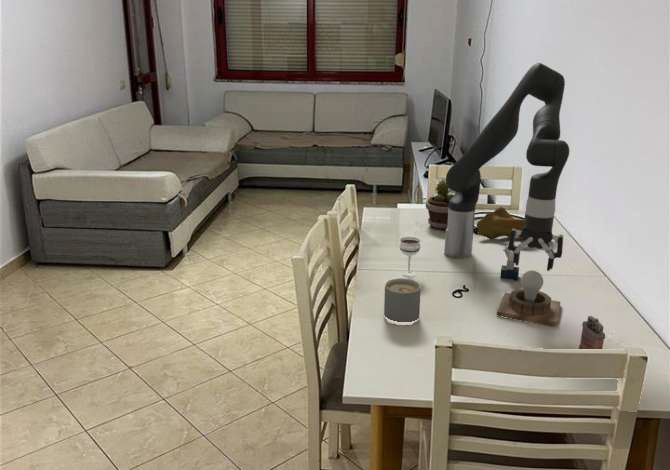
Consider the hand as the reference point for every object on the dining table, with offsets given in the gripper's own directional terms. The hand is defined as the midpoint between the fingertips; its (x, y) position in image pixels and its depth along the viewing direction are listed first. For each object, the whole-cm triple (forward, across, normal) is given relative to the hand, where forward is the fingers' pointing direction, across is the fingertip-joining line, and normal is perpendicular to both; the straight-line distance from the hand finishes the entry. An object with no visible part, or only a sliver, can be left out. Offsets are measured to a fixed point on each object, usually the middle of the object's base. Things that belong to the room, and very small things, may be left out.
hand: (532, 267), depth 167 cm
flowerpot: (+15, -42, +65) cm, 79 cm away
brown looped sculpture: (+14, -14, +62) cm, 65 cm away
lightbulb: (+12, 0, 0) cm, 13 cm away
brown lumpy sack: (+14, +18, -19) cm, 29 cm away
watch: (+14, -9, +23) cm, 28 cm away
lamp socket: (+14, 0, 0) cm, 14 cm away
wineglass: (+14, -40, +12) cm, 44 cm away
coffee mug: (+14, -32, -17) cm, 39 cm away
